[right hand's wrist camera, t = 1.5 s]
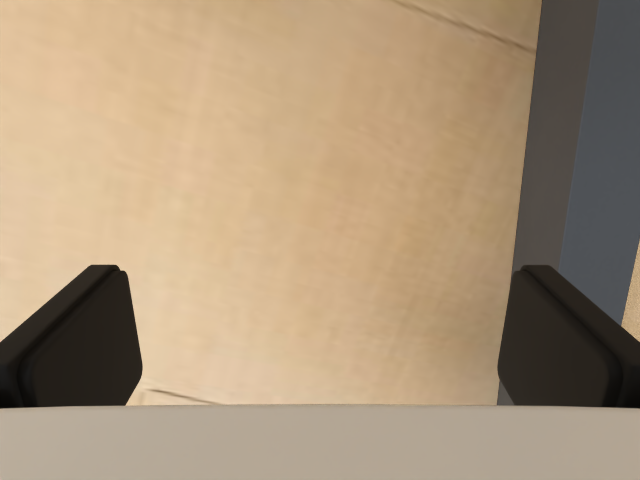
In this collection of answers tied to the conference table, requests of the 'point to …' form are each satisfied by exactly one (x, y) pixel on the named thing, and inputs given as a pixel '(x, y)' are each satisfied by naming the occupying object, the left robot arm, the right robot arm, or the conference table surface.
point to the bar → (584, 151)
